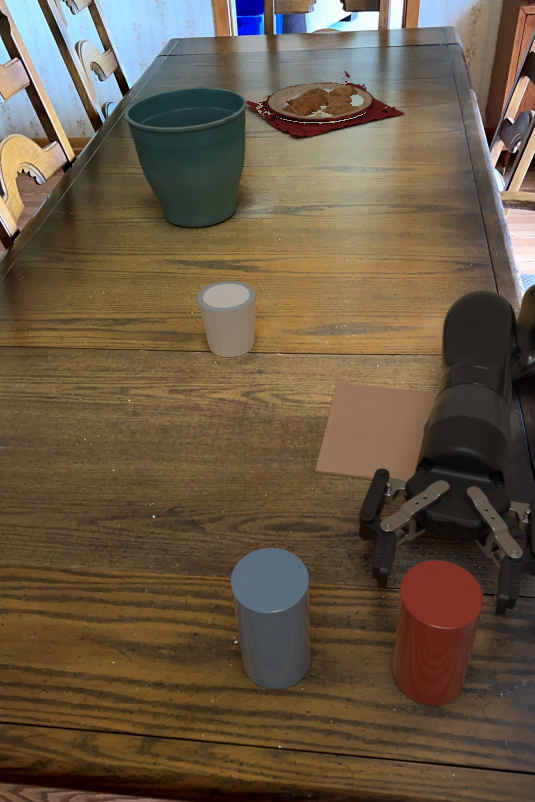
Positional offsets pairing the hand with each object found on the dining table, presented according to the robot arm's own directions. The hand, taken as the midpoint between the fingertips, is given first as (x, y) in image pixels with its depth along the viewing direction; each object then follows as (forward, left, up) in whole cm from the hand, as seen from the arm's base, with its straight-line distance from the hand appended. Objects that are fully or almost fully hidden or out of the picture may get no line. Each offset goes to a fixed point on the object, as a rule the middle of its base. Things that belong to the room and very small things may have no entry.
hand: (440, 594), depth 52 cm
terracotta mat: (+6, -23, -6) cm, 25 cm away
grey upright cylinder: (+12, +4, -6) cm, 14 cm away
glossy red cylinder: (0, +3, -6) cm, 7 cm away
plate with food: (+29, -121, -6) cm, 125 cm away
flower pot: (+41, -71, -6) cm, 83 cm away
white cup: (+26, -36, -6) cm, 45 cm away
